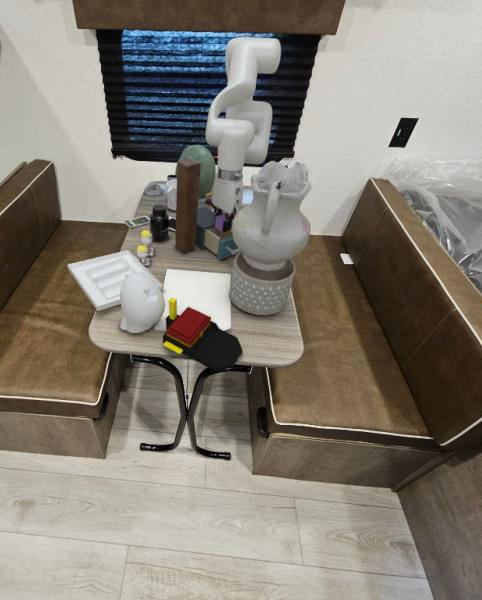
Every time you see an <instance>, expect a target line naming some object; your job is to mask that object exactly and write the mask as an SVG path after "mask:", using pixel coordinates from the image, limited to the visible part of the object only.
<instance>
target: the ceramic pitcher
mask: <svg viewBox="0 0 482 600" xmlns="http://www.w3.org/2000/svg"><path fill="white" fill-rule="evenodd" d="M307 168H308V167H307V166H306V163H301V162H299V161H296V162H294V165H292V166H290V167H286V165H284V164H283V163H281V162H277V161H275V160H271V161H269V162H267V163H265V164H264V165H263V166H262V168H260V169H259V171H258V173H257V174H252V175H251V177H250V186H251V190H252V201H251V203H249V204H248V205H246V207H244V208H243V209H241V210H240V211H239V212H238V213H237V214H236V216H235V218H234V220H233V223H232V224H231V230H232V233H233V238H234V242H235V244H236V246H237V247H238V248H239V249H240V251H241V252H242V253H243V254H242V257H243V258H244V260H245V261H246V263H247V264H249V265H250V266H251V267H252V268H255V269H260V270H264V271H273V270H278V269H282V268H284V266H285V264H286V261H287V260H290V259H292V260H293V258H295V257H297V256H298V255H299V254H300V253H301V252H302V251H303V250H304V249H305V247H306V246H307V244H308V243H309V239H310V235H311V223H310V221H309V219H308V217H306V215H305V214H304V213H303V212H302V211H301V209H300V208H301V205H302V202H303V200H305V198H306V197H307V196H308V195H309V194H310V192H311V190H312V188H313V187H312V184H311V182H310V181H309V172H310V169H307Z"/></svg>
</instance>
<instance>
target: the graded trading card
mask: <svg viewBox="0 0 482 600" xmlns="http://www.w3.org/2000/svg"><path fill="white" fill-rule="evenodd" d="M123 223H125V224H126V226H128V228H130V229H131V228H135V227H140V226H144V225H147V224H150V217H148V215H141V216H137V217H133V218H129V219H125V220H123Z"/></svg>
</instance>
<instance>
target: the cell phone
mask: <svg viewBox="0 0 482 600" xmlns="http://www.w3.org/2000/svg"><path fill="white" fill-rule="evenodd" d="M168 216H169V215H168ZM169 231H173V232H175V233H176V217H173V216H169Z"/></svg>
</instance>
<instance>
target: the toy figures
mask: <svg viewBox="0 0 482 600" xmlns="http://www.w3.org/2000/svg"><path fill="white" fill-rule="evenodd" d="M140 235H141V236H140V241H141V243H142V244H141V245H138V246H137V247H136V254H137V256H138V257H139V259H140V260H139V262H141V264H142V265H143V266H145V267H149V266H150V265H151V262H150V261H151V259H150V258H149V257H153V256H154V248H153V247H152V246H151V245H152V243H153V236H152V232H150V230H147V229H143V230H142V231H141V232H140Z"/></svg>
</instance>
